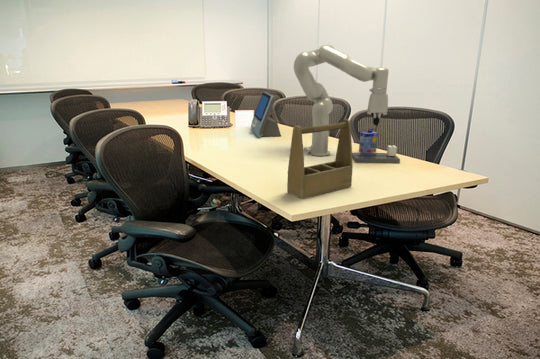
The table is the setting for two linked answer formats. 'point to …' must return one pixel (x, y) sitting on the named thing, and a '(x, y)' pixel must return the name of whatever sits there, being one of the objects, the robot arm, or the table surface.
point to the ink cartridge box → (368, 141)
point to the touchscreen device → (265, 118)
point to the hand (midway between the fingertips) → (375, 124)
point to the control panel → (374, 158)
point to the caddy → (322, 175)
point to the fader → (391, 150)
